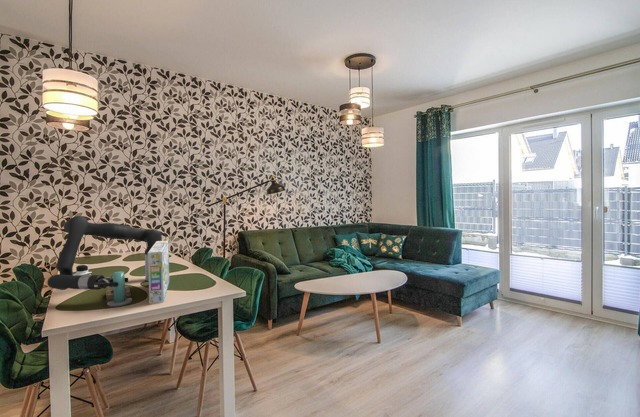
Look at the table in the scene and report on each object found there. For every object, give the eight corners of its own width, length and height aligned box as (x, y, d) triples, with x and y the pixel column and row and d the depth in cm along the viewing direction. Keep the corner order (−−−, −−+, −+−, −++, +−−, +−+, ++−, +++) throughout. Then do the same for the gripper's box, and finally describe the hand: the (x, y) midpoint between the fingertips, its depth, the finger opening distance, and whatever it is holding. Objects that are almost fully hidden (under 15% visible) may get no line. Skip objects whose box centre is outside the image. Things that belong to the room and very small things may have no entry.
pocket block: (128, 291, 185) (128, 287, 185) (130, 296, 176) (130, 291, 176) (106, 294, 179) (106, 290, 179) (106, 300, 170) (106, 295, 170)
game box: (157, 283, 201) (156, 241, 200) (169, 282, 204) (168, 240, 202) (148, 304, 163) (147, 251, 162) (163, 302, 166) (162, 251, 165)
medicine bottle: (82, 286, 196) (81, 266, 196) (72, 285, 198) (72, 266, 197) (92, 282, 203) (92, 264, 203) (83, 282, 205) (82, 263, 204)
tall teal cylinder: (124, 298, 169) (124, 270, 168) (125, 301, 165) (124, 272, 164) (113, 300, 166) (112, 272, 165) (114, 303, 162) (113, 274, 161)
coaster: (131, 298, 173) (131, 296, 173) (133, 303, 164) (133, 301, 164) (106, 302, 167) (106, 300, 167) (107, 308, 158) (107, 306, 158)
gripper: (81, 278, 158) (113, 278, 158) (100, 271, 172) (130, 271, 172) (81, 293, 158) (114, 293, 158) (101, 285, 172) (131, 285, 172)
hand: (122, 282), depth 165 cm, fingers open, 8 cm apart
